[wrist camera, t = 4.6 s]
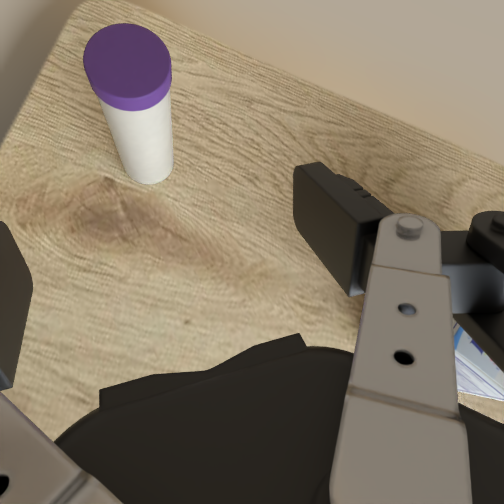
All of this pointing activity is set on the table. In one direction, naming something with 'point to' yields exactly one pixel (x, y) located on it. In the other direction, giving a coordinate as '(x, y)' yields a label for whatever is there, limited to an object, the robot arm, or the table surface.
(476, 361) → the medicine box
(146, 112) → the glue stick
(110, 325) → the table surface
